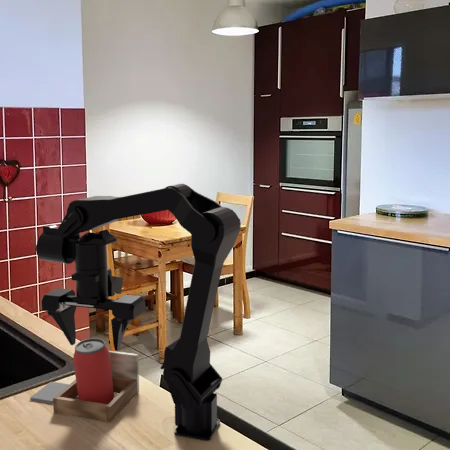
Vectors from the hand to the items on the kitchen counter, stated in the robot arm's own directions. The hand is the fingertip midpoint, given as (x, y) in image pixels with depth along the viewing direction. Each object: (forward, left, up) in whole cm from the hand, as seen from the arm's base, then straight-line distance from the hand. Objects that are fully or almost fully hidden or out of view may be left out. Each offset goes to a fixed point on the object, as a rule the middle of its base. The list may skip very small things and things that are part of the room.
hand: (95, 347), depth 108 cm
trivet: (+10, -1, -11) cm, 15 cm away
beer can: (0, 0, -11) cm, 11 cm away
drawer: (0, 0, -11) cm, 11 cm away
